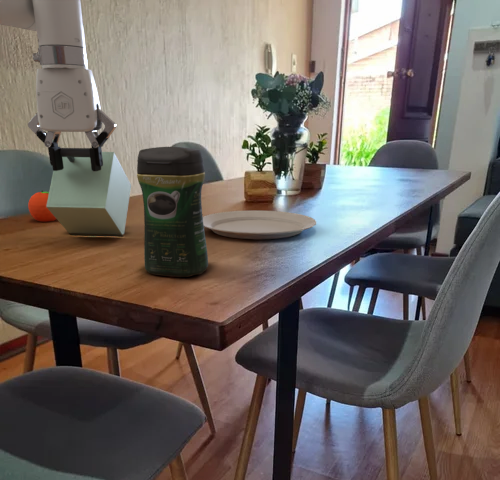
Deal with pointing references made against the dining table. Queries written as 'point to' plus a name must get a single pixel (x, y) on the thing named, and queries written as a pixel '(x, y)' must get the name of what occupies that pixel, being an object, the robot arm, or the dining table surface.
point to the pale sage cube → (89, 194)
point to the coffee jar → (173, 210)
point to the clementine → (40, 207)
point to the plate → (257, 224)
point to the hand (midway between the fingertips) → (77, 169)
